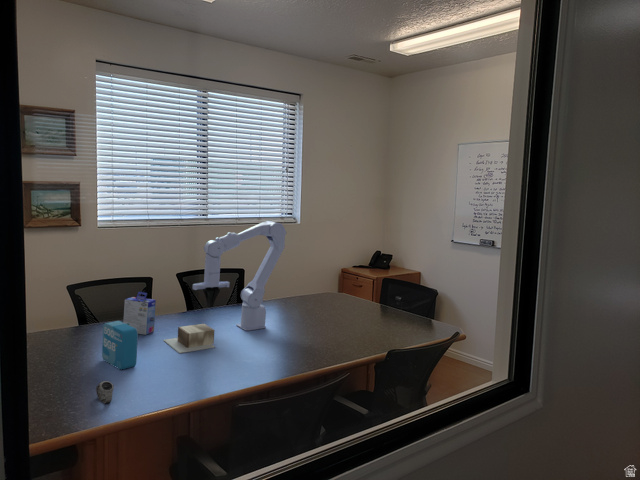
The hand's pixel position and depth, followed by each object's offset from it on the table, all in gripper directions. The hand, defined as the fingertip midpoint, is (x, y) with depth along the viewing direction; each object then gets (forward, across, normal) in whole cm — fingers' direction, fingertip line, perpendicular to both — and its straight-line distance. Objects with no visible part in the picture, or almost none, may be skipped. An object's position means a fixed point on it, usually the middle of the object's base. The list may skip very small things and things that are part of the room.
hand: (210, 306), depth 180 cm
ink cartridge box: (+10, +24, -9) cm, 27 cm away
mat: (+9, +13, +11) cm, 19 cm away
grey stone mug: (+10, +49, +40) cm, 64 cm away
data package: (+10, +39, +18) cm, 44 cm away
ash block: (+6, +6, +11) cm, 14 cm away
